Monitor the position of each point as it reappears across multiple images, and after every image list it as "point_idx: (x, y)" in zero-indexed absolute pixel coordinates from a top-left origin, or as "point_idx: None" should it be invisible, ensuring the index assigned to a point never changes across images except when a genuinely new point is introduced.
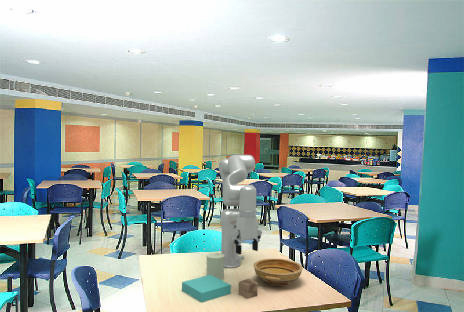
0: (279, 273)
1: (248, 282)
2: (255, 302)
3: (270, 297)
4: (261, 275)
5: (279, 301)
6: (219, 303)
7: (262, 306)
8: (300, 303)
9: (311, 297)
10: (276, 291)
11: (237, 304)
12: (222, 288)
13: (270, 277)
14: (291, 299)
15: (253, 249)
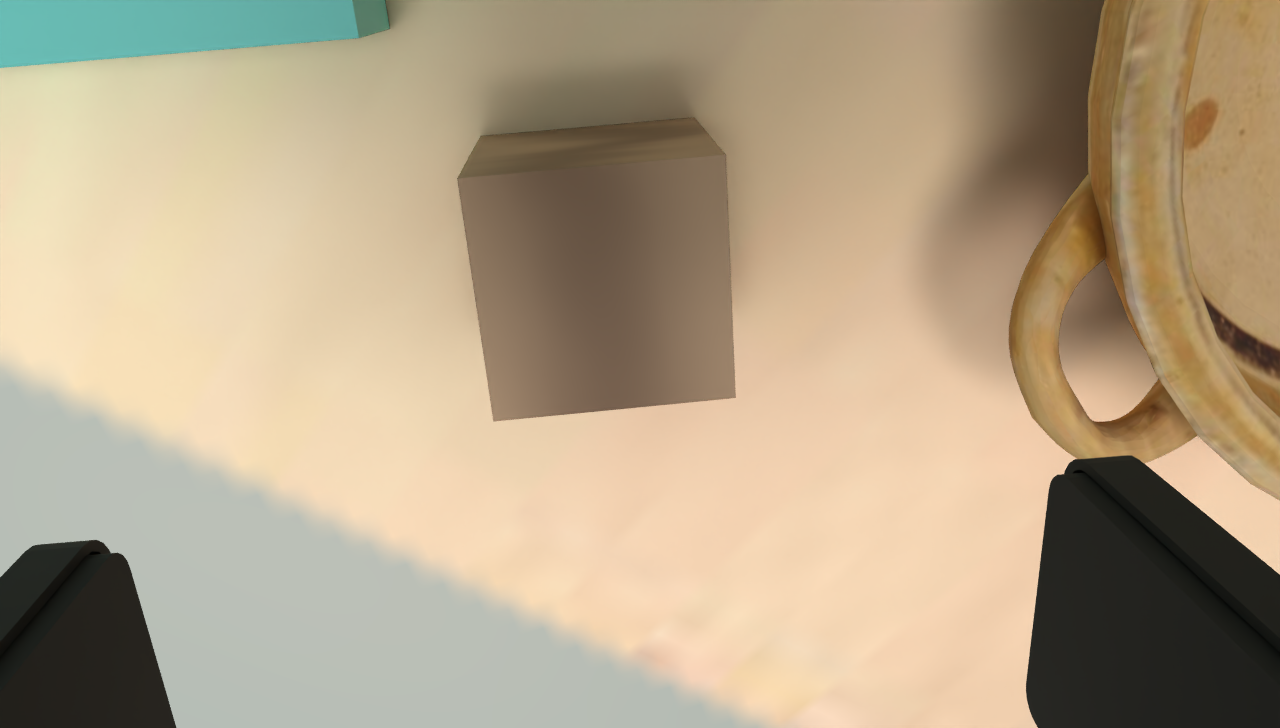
0: (1265, 447)
1: (598, 311)
2: (541, 472)
3: (816, 449)
4: (1091, 104)
5: (820, 585)
6: (51, 255)
7: (547, 593)
8: (973, 721)
9: None
10: None
11: (286, 407)
12: (153, 52)
13: (1043, 412)
14: (982, 609)
15: (1053, 556)
